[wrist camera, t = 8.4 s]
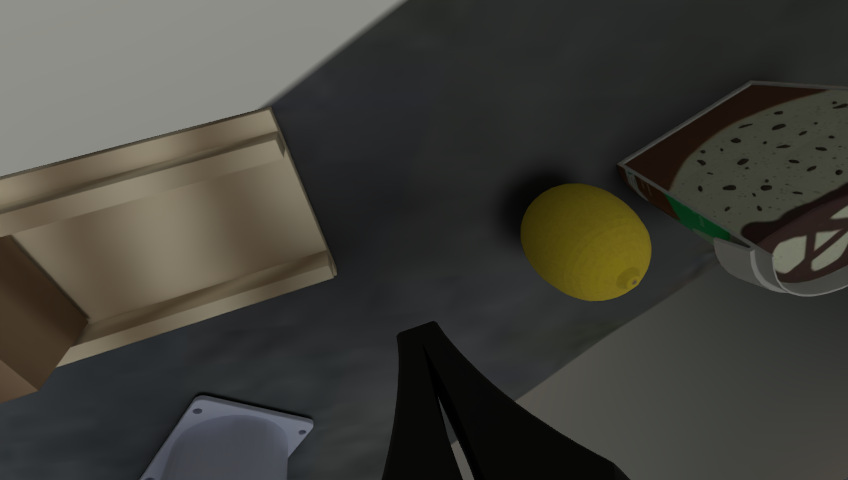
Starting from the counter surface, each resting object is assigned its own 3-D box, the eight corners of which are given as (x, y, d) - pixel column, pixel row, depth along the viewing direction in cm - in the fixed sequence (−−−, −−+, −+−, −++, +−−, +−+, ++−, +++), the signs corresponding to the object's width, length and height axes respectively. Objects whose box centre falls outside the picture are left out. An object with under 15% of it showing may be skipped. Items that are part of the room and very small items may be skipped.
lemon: (590, 213, 24) (697, 285, 18) (519, 261, 25) (597, 350, 18) (563, 145, 21) (680, 200, 15) (482, 202, 22) (560, 281, 15)
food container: (614, 245, 26) (756, 348, 18) (595, 176, 23) (760, 264, 15) (768, 151, 26) (988, 211, 18) (772, 66, 23) (1047, 92, 14)
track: (270, 106, 16) (258, 134, 12) (336, 267, 21) (343, 326, 17) (-210, 231, 14) (-426, 317, 10) (-15, 379, 19) (-106, 479, 15)
